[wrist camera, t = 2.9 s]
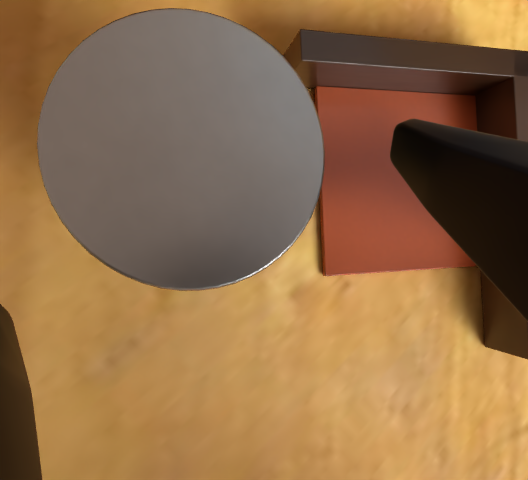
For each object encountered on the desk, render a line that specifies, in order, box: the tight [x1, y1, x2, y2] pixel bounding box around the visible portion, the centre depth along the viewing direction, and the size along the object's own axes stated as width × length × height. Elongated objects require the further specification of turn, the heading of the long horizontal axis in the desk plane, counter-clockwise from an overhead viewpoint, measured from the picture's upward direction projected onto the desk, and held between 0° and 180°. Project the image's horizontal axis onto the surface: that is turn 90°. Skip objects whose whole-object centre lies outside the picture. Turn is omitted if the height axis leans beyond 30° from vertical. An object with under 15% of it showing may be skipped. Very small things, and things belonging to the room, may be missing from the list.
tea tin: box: [37, 8, 325, 291], centre depth 12 cm, size 6×6×8 cm
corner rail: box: [283, 29, 528, 359], centre depth 18 cm, size 14×11×2 cm
